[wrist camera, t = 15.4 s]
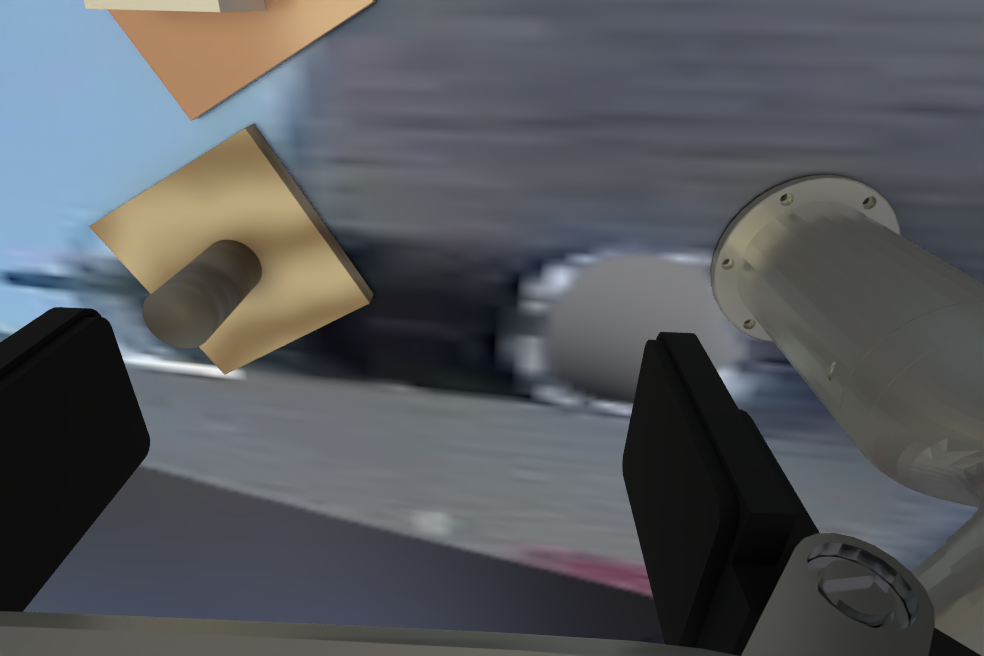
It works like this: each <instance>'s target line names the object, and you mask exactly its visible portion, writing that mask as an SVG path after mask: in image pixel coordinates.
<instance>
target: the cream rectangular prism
mask: <svg viewBox="0 0 984 656" xmlns="http://www.w3.org/2000/svg"><path fill="white" fill-rule="evenodd" d="M84 2H85V6H86V9H117V10H155V11H194V12H245V11H265V5H264V0H84Z"/></svg>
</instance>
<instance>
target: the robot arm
mask: <svg viewBox="0 0 984 656" xmlns="http://www.w3.org/2000/svg"><path fill="white" fill-rule="evenodd" d="M784 194H785V196H784V197H783V198H782V199H781V197H782V196H783V195H784ZM726 259H727V260H726ZM724 260H726V261H725V262H723V261H724ZM711 286H712V290H713V294H714V298H715V300H716V302H717V304H718V306H719V308H720V310H721V311H722V312H723V314H724V315H725V316H726V318H727V319H728V321H730V322H731V323H732V324H733V325H734V326H735V327H736V328H737V329H738V330H740V331H742V332H744V333H746V334H747V335H749V336H751V337H754V338H757V339H761V340H764V341H771V342H774V343H775V344H776V346H777V347H778V348H779V349H780V351H781V352H782V353H783V354H784V356H785V357H786V358H787V359H788V361H789V362H790V363H791V364H792V366H793V367H794V368H795V370H796V371H797V372H798V373H799V375H800V376H801V377H802V378H803V380H804V381H805V382H806V383H807V385H808V386H809V387H810V388H811V390H812V391H813V392H814V393H815V395H816V396H817V397H818V399H819V400H820V401H821V402H822V404H823V405H824V406H825V407H826V409H827V410H828V411H829V412H830V414H831V415H832V416H833V417H834V419H835V420H836V421H837V422H838V424H839V425H840V426H841V428H842V429H843V430H844V431H845V433H846V434H847V435H848V436H849V437H850V438H851V440H852V441H853V442H854V443H855V445H856V446H857V447H858V448H859V450H860V451H861V452H862V453H863V455H864V456H865V457H866V458H867V459H868V460H869V461H870V462H871V463H872V464H873V465H874V466H875V467H876V468H878V469H879V470H880V471H881V472H883V473H884V474H885V475H887V476H888V477H890V478H891V479H893V480H895V481H897V482H898V483H900V484H902V485H904V486H906V487H908V488H910V489H912V490H915V491H918V492H920V493H923V494H926V495H929V496H932V497H935V498H939V499H943V500H947V501H951V502H955V503H960V504H964V505H970V506H975V507H979V508H978V510H977V511H976V513H975V514H974V515H973V517H972V518H971V519H970V520H968V521H967V522H966V523H965V524H964V525H963V526H962V527H961V528H960V529H958V530H957V531H956V532H955V533H954V534H953V535H951V536H950V537H949V538H948V539H947V541H946V543H945V544H944V545H943V546H941V547H940V548H939V549H938V550H936V551H935V552H934V553H933V554H931V555H930V556H929V557H928V558H926V559H925V560H924V561H923V562H921V563H920V564H919V565H918V566H916V567H915V568H914V569H913V570H911V571H909V570H908V569H907V568H906V567H905V566H904V565H902V564H901V563H900V562H899V561H898V560H896V559H895V558H894V557H892V556H891V555H889V554H888V553H886V552H884V551H883V550H881V549H879V548H878V547H876V546H874V545H872V544H870V543H867V542H865V541H862V540H860V539H857V538H855V537H851V536H846V535H841V534H837V533H819V531H818V529H817V528H816V526H815V524H814V523H813V521H812V519H811V518H810V516H809V514H808V513H807V511H806V509H805V507H804V506H803V504H802V502H801V501H800V499H799V497H798V496H797V494H796V492H795V491H794V489H793V487H792V486H791V484H790V482H789V481H788V479H787V477H786V475H785V474H784V472H783V470H782V469H781V467H780V465H779V464H778V462H777V460H776V459H775V457H774V455H773V454H772V452H771V450H770V448H769V447H768V445H767V443H766V442H765V440H764V438H763V437H762V435H761V433H760V432H759V430H758V428H757V427H756V425H755V423H754V421H753V420H752V418H751V417H750V416H749V414H748V413H747V412H745V411H743V410H739V409H738V407H737V406H736V404H735V402H734V400H733V399H732V397H731V395H730V393H729V392H728V390H727V388H726V386H725V385H724V383H723V381H722V379H721V378H720V376H719V374H718V372H717V371H716V369H715V367H714V366H713V364H712V362H711V360H710V358H709V357H708V355H707V353H706V352H705V350H704V348H703V346H702V345H701V343H700V341H699V339H698V338H697V336H696V335H695V334H693V333H674V332H673V333H672V332H660V333H659V335H658V336H657V339H656V340H648V341H647V343H646V345H645V349H644V354H643V359H642V364H641V369H640V374H639V379H638V384H637V389H636V394H635V399H634V404H633V409H632V414H631V419H630V424H629V429H628V434H627V439H626V444H625V449H624V454H623V464H622V465H623V477H624V481H625V485H626V489H627V493H628V497H629V501H630V505H631V509H632V513H633V517H634V521H635V525H636V529H637V533H638V538H639V542H640V546H641V550H642V554H643V558H644V562H645V566H646V570H647V574H648V578H649V582H650V586H651V590H652V594H653V598H654V602H655V606H656V610H657V614H658V618H659V622H660V626H661V630H662V634H663V638H664V642H665V645H664V644H655V643H646V642H637V641H623V640H606V639H591V638H577V637H561V636H546V635H529V634H515V633H495V632H473V631H453V630H452V631H451V630H432V629H431V630H430V629H410V628H390V627H367V626H348V625H326V624H304V623H281V622H256V621H233V620H211V619H187V618H161V617H138V616H114V615H89V614H63V613H35V612H23V611H24V609H25V608H26V606H28V604H29V603H30V602H31V601H32V599H33V598H34V597H35V595H36V594H37V593H38V592H39V590H40V589H41V588H42V587H43V586H44V584H45V583H46V582H47V581H48V579H49V578H50V577H51V575H52V574H53V573H54V572H55V570H56V569H57V568H58V567H59V565H60V564H61V563H62V562H63V560H64V559H65V558H66V557H67V555H68V554H69V553H70V551H71V550H72V549H73V548H74V546H75V545H76V544H77V543H78V542H79V540H80V539H81V538H82V536H83V535H84V534H85V532H87V530H88V529H89V528H90V526H91V525H92V524H93V523H94V521H95V520H96V519H97V518H98V516H99V515H100V514H101V513H102V511H103V510H104V509H105V508H106V506H107V505H108V504H109V503H110V501H111V500H112V499H113V498H114V496H115V495H116V494H117V492H118V491H119V490H120V489H121V488H122V486H123V485H124V484H125V483H126V481H127V480H128V479H129V478H130V476H131V475H132V474H133V472H134V471H135V470H136V469H137V467H138V466H139V465H140V464H141V462H142V461H143V460H144V459H145V457H146V456H147V454H148V451H149V447H150V437H149V434H148V431H147V428H146V425H145V422H144V419H143V416H142V413H141V410H140V407H139V405H138V402H137V399H136V396H135V393H134V390H133V387H132V384H131V381H130V379H129V376H128V373H127V370H126V367H125V364H124V361H123V358H122V355H121V353H120V350H119V347H118V344H117V341H116V338H115V335H114V332H113V329H112V327H111V325H110V323H109V321H108V320H107V319H105V318H103V317H101V315H100V314H99V313H98V312H97V311H96V310H93V309H88V308H63V307H55V308H52V309H50V310H48V311H47V312H45V313H44V314H42V315H41V316H39V317H38V318H36V319H35V320H33V321H32V322H30V323H29V324H27V325H26V326H24V327H23V328H21V329H20V330H18V331H17V332H15V333H14V334H12V335H11V336H9V337H8V338H6V339H5V340H3V341H2V342H0V656H984V284H983V283H981V282H979V281H978V280H976V279H974V278H972V277H971V276H969V275H967V274H966V273H964V272H962V271H960V270H959V269H957V268H955V267H954V266H952V265H950V264H949V263H947V262H945V261H943V260H942V259H940V258H938V257H937V256H935V255H933V254H931V253H930V252H928V251H926V250H925V249H923V248H921V247H919V246H918V245H916V244H914V243H913V242H911V241H909V240H907V239H906V238H904V237H902V236H901V235H900V226H899V223H898V220H897V217H896V214H895V212H894V210H893V209H892V207H891V206H890V204H889V203H888V201H887V200H886V199H885V198H884V197H883V196H881V195H880V194H879V193H878V192H877V191H876V190H874V189H872V188H871V187H869V186H867V185H865V184H863V183H861V182H858V181H856V180H853V179H850V178H848V177H842V176H835V175H814V176H807V177H803V178H798V179H794V180H791V181H788V182H786V183H783V184H781V185H779V186H776V187H774V188H772V189H770V190H769V191H767V192H765V193H764V194H762V195H761V196H759V197H757V198H756V199H755V200H754V201H752V202H751V203H750V204H749V205H748V206H746V207H745V208H744V209H743V210H742V211H741V212H740V213H739V214H738V215H737V216H736V218H735V219H734V220H733V221H732V222H731V223H730V224H729V226H728V228H727V229H726V231H725V232H724V234H723V236H722V237H721V239H720V241H719V243H718V246H717V248H716V251H715V253H714V257H713V262H712V267H711Z"/></svg>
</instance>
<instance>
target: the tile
mask: <svg viewBox="0 0 984 656" xmlns="http://www.w3.org/2000/svg"><path fill="white" fill-rule="evenodd" d="M375 2H377V1H376V0H264V5H265V11H245V12H194V11H155V10H117V9H107V10H108V11H109V12H110V14H111V15H112V16H113V18H114V19H115V20H116V22H117V23H118V24H119V26H120V27H121V28H122V30H123V31H124V32H125V34H126V35H127V36H128V38H129V39H130V40H131V42H132V43H133V44H134V45H135V47H136V48H137V49H138V51H139V52H140V53H141V55H142V56H143V57H144V59H145V60H146V61H147V63H148V64H149V65H150V67H151V68H152V69H153V71H154V72H155V73H156V75H157V76H158V77H159V79H160V80H161V81H162V83H163V84H164V85H165V87H166V88H167V89H168V91H169V92H170V93H171V95H172V96H173V97H174V99H175V100H176V101H177V103H178V104H179V105H180V107H181V108H182V109H183V111H184V112H185V113H186V115H187V116H188V117H189V119H190V120H191V121H192V120H194V119H197V118H199V117H201V116H202V115H204V114H205V113H207V112H208V111H210V110H211V109H213V108H214V107H216V106H218V105H219V104H221V103H222V102H224V101H225V100H227V99H228V98H230V97H231V96H233V95H234V94H236V93H237V92H239V91H241V90H242V89H244V88H245V87H247V86H248V85H250V84H251V83H253V82H254V81H256V80H257V79H259V78H260V77H262V76H264V75H265V74H267V73H268V72H270V71H271V70H273V69H274V68H276V67H277V66H279V65H280V64H282V63H283V62H285V61H286V60H288V59H290V58H291V57H293V56H294V55H296V54H297V53H299V52H300V51H302V50H303V49H305V48H306V47H308V46H309V45H311V44H313V43H314V42H316V41H317V40H319V39H320V38H322V37H323V36H325V35H326V34H328V33H329V32H331V31H332V30H334V29H336V28H337V27H339V26H340V25H342V24H343V23H345V22H346V21H348V20H349V19H351V18H352V17H354V16H355V15H357V14H359V13H360V12H362V11H363V10H365V9H366V8H368V7H369V6H371V5H372V4H374V3H375Z"/></svg>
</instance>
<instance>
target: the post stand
mask: <svg viewBox="0 0 984 656" xmlns="http://www.w3.org/2000/svg"><path fill="white" fill-rule="evenodd" d="M89 227H90V228H91V229H92V230H93V231H94V232H95V234H96V235H97V236H98V237H99V238H100V239H101V240H102V241H103V242H104V243H105V244H106V246H107V247H108V248H109V249H110V250H111V251H112V252H113V253H114V254H115V255H116V256H117V258H118V259H119V260H120V261H121V262H122V263H123V264H124V265H125V266H126V267H127V268H128V270H129V271H130V272H131V273H132V274H133V275H134V276H135V277H136V278H137V279H138V280H139V282H140V283H141V284H142V285H143V286H144V287H145V288H146V289H147V290H148V291H149V293H150V294H151V295H150V296H149V297H148V298H147V299H146V300H145V302H144V305H143V318H144V321H145V323H146V325H147V327H148V328H149V330H150V331H151V332H152V333H153V334H154V335H155V336H156V337H157V338H158V339H160V340H161V341H163V342H164V343H166V344H168V345H171V346H174V347H177V348H184V349H190V348H196V347H200V348H201V349H202V350H203V351H204V353H205V354H206V355H207V356H208V357H209V358H210V359H211V360H212V361H213V362H214V363H215V365H216V366H217V367H218V368H219V369H220V370H221V371H222V372H223V373H224V374H227V373H229V372H231V371H233V370H235V369H237V368H239V367H241V366H243V365H245V364H247V363H249V362H251V361H253V360H255V359H257V358H259V357H261V356H264V355H266V354H268V353H270V352H272V351H274V350H276V349H278V348H280V347H282V346H284V345H286V344H288V343H290V342H292V341H294V340H296V339H298V338H300V337H302V336H304V335H306V334H308V333H310V332H312V331H314V330H316V329H318V328H320V327H322V326H324V325H326V324H328V323H330V322H332V321H334V320H336V319H338V318H340V317H342V316H344V315H346V314H349V313H351V312H353V311H355V310H357V309H359V308H361V307H363V306H365V305H367V304H369V303H370V301H371V299H372V297H373V292H372V291H371V290H370V288H369V287H368V285H367V284H366V282H365V281H364V280H363V278H362V277H361V275H360V274H359V272H358V271H357V270H356V268H355V267H354V265H353V264H352V262H351V261H350V260H349V258H348V257H347V255H346V254H345V253H344V251H343V250H342V248H341V247H340V245H339V244H338V243H337V241H336V240H335V238H334V237H333V235H332V234H331V233H330V231H329V230H328V228H327V227H326V225H325V224H324V223H323V221H322V220H321V218H320V217H319V216H318V214H317V213H316V211H315V210H314V208H313V207H312V206H311V204H310V203H309V201H308V200H307V198H306V197H305V196H304V194H303V193H302V191H301V190H300V188H299V187H298V186H297V184H296V183H295V181H294V180H293V179H292V177H291V176H290V174H289V173H288V171H287V170H286V169H285V167H284V166H283V164H282V163H281V161H280V160H279V159H278V157H277V156H276V154H275V153H274V151H273V150H272V149H271V147H270V146H269V144H268V143H267V142H266V140H265V139H264V137H263V136H262V134H261V133H260V132H259V130H258V129H257V127H256V126H255V124H253V125H251V126H249V127H246V128H244V129H243V130H241V131H240V132H238V133H237V134H235V135H233V136H232V137H230V138H229V139H227V140H225V141H224V142H222V143H221V144H219V145H217V146H216V147H214V148H213V149H211V150H210V151H208V152H206V153H205V154H203V155H202V156H200V157H198V158H197V159H195V160H194V161H192V162H190V163H189V164H187V165H186V166H184V167H182V168H181V169H179V170H178V171H176V172H175V173H173V174H171V175H170V176H168V177H167V178H165V179H163V180H162V181H160V182H159V183H157V184H155V185H154V186H152V187H151V188H149V189H148V190H146V191H144V192H143V193H141V194H140V195H138V196H136V197H135V198H133V199H132V200H130V201H128V202H127V203H125V204H124V205H122V206H120V207H119V208H117V209H116V210H114V211H113V212H111V213H109V214H108V215H106V216H105V217H103V218H101V219H100V220H98V221H97V222H95V223H93V224H92V225H90V226H89Z"/></svg>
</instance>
